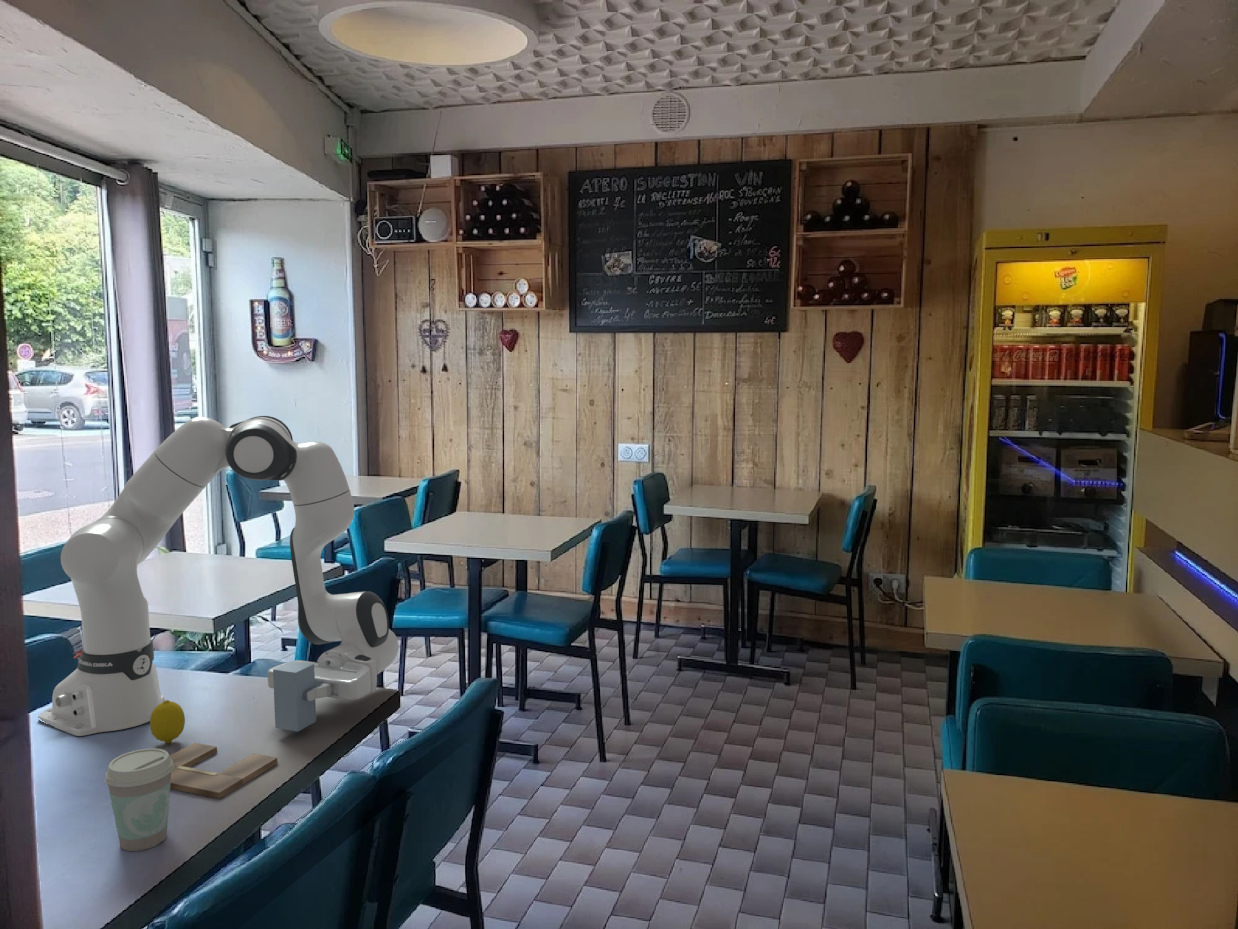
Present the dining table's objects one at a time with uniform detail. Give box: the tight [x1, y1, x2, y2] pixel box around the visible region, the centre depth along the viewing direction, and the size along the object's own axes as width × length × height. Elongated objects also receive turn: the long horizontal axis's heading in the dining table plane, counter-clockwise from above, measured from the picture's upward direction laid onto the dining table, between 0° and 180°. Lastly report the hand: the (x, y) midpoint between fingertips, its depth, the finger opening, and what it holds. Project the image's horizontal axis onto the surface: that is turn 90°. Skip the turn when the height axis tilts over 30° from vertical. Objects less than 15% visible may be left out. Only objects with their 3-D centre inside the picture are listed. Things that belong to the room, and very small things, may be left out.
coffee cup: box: [104, 748, 174, 852], centre depth 121 cm, size 8×9×12 cm
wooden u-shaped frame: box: [169, 742, 279, 800], centre depth 143 cm, size 18×13×1 cm
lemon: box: [149, 699, 186, 744], centre depth 154 cm, size 6×6×8 cm
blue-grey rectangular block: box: [273, 660, 317, 733], centre depth 157 cm, size 5×5×11 cm
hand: (291, 694), depth 156 cm, fingers closed on blue-grey rectangular block, 5 cm apart
